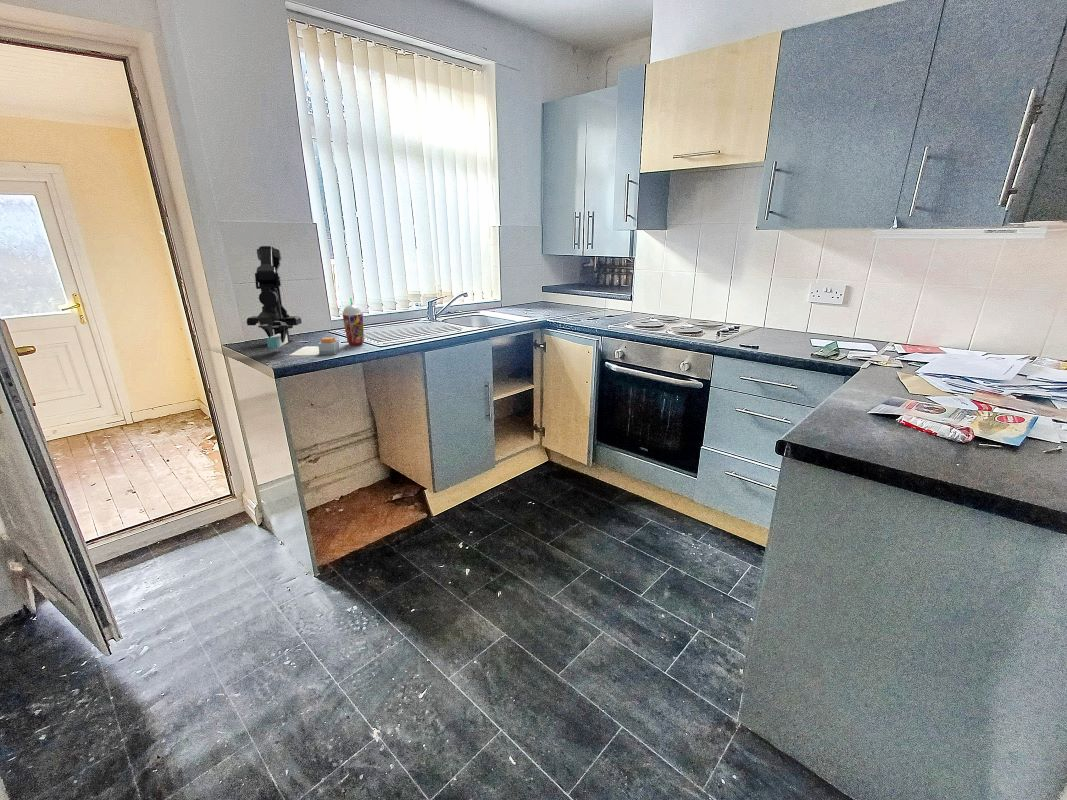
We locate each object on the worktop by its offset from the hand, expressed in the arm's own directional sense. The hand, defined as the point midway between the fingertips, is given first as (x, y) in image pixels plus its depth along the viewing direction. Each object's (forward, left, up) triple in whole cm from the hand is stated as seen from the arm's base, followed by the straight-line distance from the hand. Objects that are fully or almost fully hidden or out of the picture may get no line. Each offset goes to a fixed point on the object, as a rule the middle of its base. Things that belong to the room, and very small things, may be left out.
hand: (278, 342), depth 186 cm
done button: (+1, +20, -1) cm, 20 cm away
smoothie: (-15, +26, -4) cm, 30 cm away
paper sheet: (-3, +11, -4) cm, 12 cm away
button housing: (+1, +20, -4) cm, 20 cm away
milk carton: (0, 0, -1) cm, 1 cm away
